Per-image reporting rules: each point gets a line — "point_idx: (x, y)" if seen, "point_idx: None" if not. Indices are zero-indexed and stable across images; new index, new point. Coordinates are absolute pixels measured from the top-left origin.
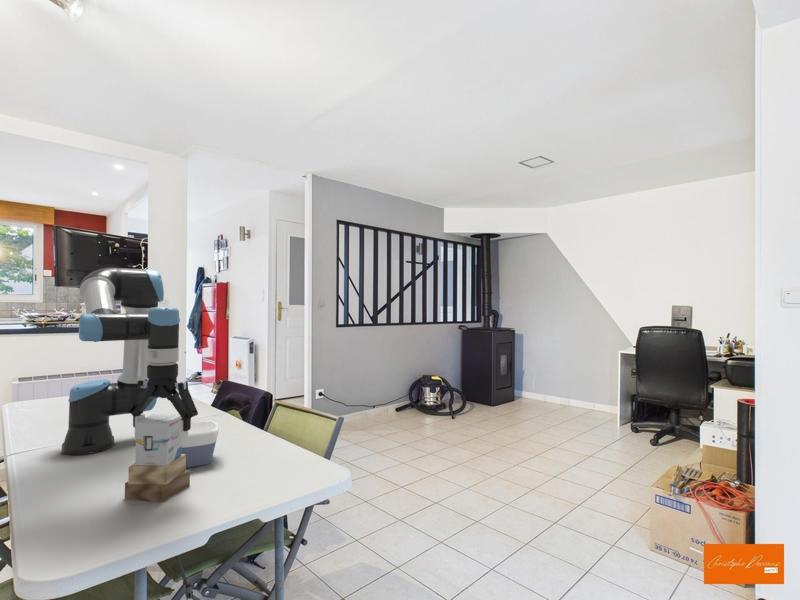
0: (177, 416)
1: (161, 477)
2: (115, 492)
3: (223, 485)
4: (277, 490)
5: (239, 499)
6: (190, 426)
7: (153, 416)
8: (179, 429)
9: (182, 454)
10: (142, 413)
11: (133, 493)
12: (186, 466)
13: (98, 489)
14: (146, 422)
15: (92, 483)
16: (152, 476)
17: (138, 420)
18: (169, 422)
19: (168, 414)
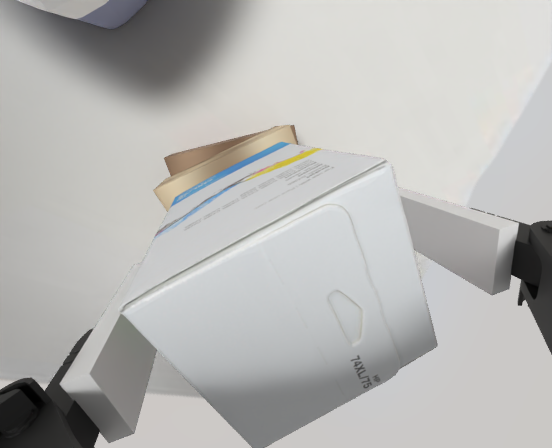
0: (401, 232)
1: None
2: (148, 246)
3: (364, 83)
4: (501, 49)
5: (442, 133)
6: (481, 211)
7: (224, 346)
8: (437, 261)
9: (280, 135)
10: (40, 387)
11: None
12: (140, 7)
13: (84, 258)
14: (316, 415)
15: (12, 247)
16: None
17: (139, 392)
18: (432, 328)
19: (285, 243)
